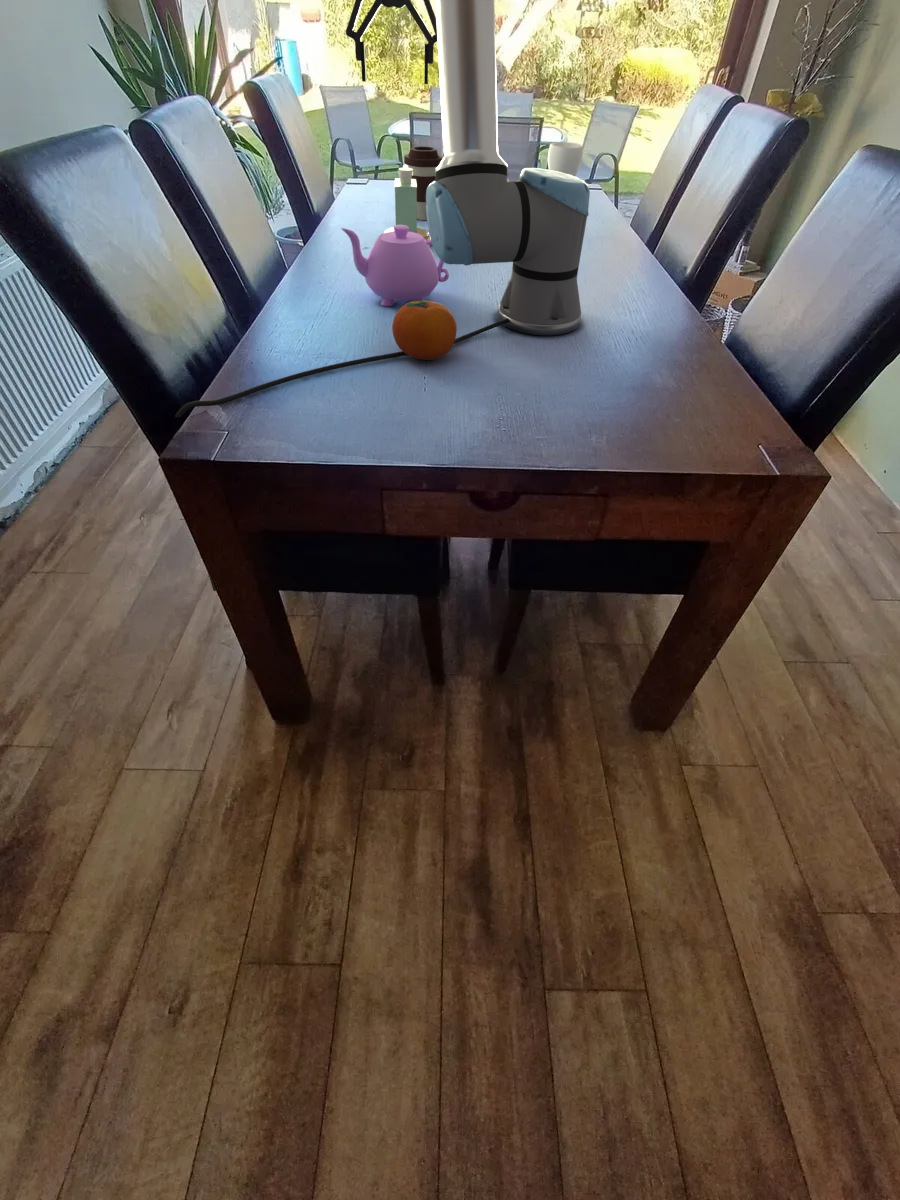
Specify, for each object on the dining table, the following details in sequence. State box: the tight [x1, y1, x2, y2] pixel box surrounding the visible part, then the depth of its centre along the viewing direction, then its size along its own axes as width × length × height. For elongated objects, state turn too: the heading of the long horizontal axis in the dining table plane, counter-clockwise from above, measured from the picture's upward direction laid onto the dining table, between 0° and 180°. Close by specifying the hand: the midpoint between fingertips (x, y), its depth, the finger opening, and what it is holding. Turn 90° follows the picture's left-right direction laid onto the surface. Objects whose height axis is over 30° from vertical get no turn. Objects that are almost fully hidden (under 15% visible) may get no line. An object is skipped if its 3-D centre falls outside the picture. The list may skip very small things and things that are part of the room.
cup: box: [547, 141, 584, 177], centre depth 167 cm, size 9×9×16 cm
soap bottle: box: [383, 164, 429, 240], centre depth 144 cm, size 10×10×13 cm
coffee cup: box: [403, 145, 444, 221], centre depth 162 cm, size 10×10×15 cm
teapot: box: [340, 224, 450, 307], centre depth 119 cm, size 20×14×12 cm
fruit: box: [391, 299, 458, 361], centre depth 102 cm, size 11×10×8 cm
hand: (395, 82), depth 138 cm, fingers open, 13 cm apart
